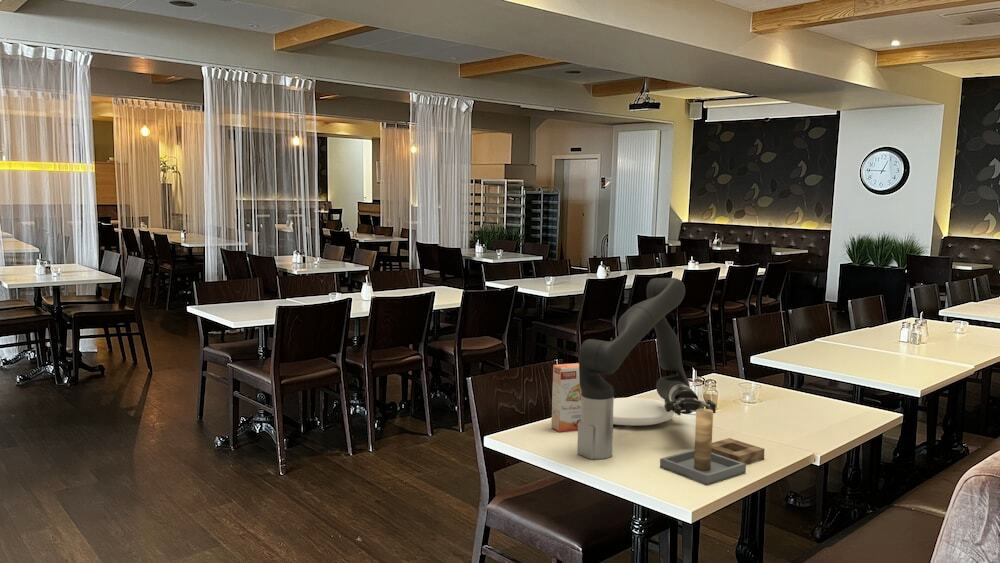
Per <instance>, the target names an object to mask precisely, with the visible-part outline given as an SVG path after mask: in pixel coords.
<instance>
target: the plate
mask: <svg viewBox="0 0 1000 563" xmlns="http://www.w3.org/2000/svg"><path fill="white" fill-rule="evenodd" d="M674 414H675V413H674V412H673V411H672V410H670V412H667V411H666V410H665V407H664V400H663V401H662V400H658V399H652V398H644V397H642V398H641V397H616V398H615V397H614V404H613V425H618V426H631V427H634V426H652V425H658V424H662V423H664V422H668V421H670V420H672V418H673V417H674Z"/></svg>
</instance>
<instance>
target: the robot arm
mask: <svg viewBox="0 0 1000 563" xmlns="http://www.w3.org/2000/svg"><path fill="white" fill-rule="evenodd" d="M685 296H686V286H685V284H684V282H683V281H682V280H681V279H679V278H677V277H676V278H675V277H656V278H655V277H654V278H651V279H649V281H648V282H647V284H646V299H645V300H642V301H640V302H637V303H635V304H633V305H632V306H630V307H629V308H628V309H627V310H625V312H624V313H623V314H622V315H621V316H620V317H619V319H618V323H617V333H618V336H617V337H615V339H613V340H610V341H608V340H602V339H601V340H600V339H593V338H591V339H590V338H589V339H586V340H584V341H583V342H582V343H581V346H580V349H579V354H578V363H579V380H580V387H581V421H580V422H578V430H577V454H578V455H580V456H581V457H584V458H588V459H590V460H603V459H608V458H610V457H612V456H613V439H614V438H613V437H614V436H613V434H614V424H613V404H614V398H615V395H614V394H615V392H614V391H615V389H614V387H613V385H612V384H610V382H607V381H606V380H605V378H603V377H602V376H601V374H603V375H610V374H613V373H615V372H616V371H617V370H618V369H619V367H620V366H621V365H622V364H623V363H624V361H625V360H626V358H627V357H628V355H629V354H630V353H631V351H632V350H634V348H635V347H636V346H637V345H638V343H639V342H641V340H642V339H643V338H645V337H646V336H647V334H649V333H650V332H651V331H652V330H653V328H654V331H655V335H656V342H657V347H658V348H657V349H658V358H659V366H660V368H661V369H662V370H665V371H673V372H675V373H676V375H668V376H667V375H666V376H662V377H659V378H658V379H657V381H656V385H655V387H656V392H657V394H658V395H659V397H660V398H661V399H663V402H664V407H665V410H666V411H667V412H670V410H672V411H673V412H674V414H676V415H677V416H682V414H683V415H690V414H693V413H694V412H695V413H696V410H697V409H710V410H712V411H713V414H716V412H717V410H716V408H717V404H716V403H714V401H712V400H711V399H706V401H704V400H700V399H699V398H698V395H697V394H696V393H695V391H694V390H692V389H691V386H690V382H689V379H688V377H687V375H686V372H685V370H684V367H683V366H684V365H683V360H682V353H681V352H682V351H681V344H680V340H679V338H678V336H677V334H676V333H675V331H674V330H673V328H672V326H671V325H670V323H669V322H668V320H667V318H666V315H667V314H669V313H670V312H671V311H673V310H674V309H676V308H677V307H678V306H679V305H680V304H681V303H682V302H683V300H684V298H685Z"/></svg>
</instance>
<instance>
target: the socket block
mask: <svg viewBox="0 0 1000 563" xmlns="http://www.w3.org/2000/svg"><path fill="white" fill-rule="evenodd" d="M711 452H712V453H715V454H718V455H721V456H724V457H727V458H730V459H733V460H736V461H739V462H742V463H745V464H746V466H747V465H749V464H752V463H755V462H760V461H763V460H765V448H763V447H760V446H757V445H754V444H750V443H747V442H743V441H739V440H737V439H733V438H730V437H728V438H725V439H720V440H718V441H714V442H713V441H712V450H711ZM762 459H763V460H762Z"/></svg>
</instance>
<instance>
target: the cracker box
mask: <svg viewBox="0 0 1000 563" xmlns="http://www.w3.org/2000/svg"><path fill="white" fill-rule="evenodd" d="M551 391H552V396H551V397H552V398H551V428H552V429H554V430H555V431H557V432H559V433H560V432H561V433H562V432H570V431H578V422H580V421H581V387H580V380H579V362H576V363H562V364H561V363H560V364H553V366H552V390H551Z"/></svg>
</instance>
